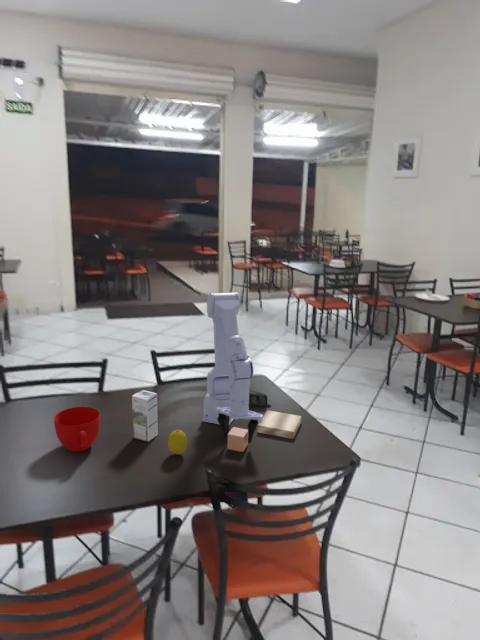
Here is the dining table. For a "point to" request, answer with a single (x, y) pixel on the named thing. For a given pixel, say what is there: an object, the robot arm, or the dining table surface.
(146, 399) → the syrup box
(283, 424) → the birch block
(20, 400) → the dining table surface
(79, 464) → the dining table surface
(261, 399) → the mobile phone
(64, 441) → the ceramic cup
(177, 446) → the lemon
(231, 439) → the terracotta cube
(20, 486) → the dining table surface
